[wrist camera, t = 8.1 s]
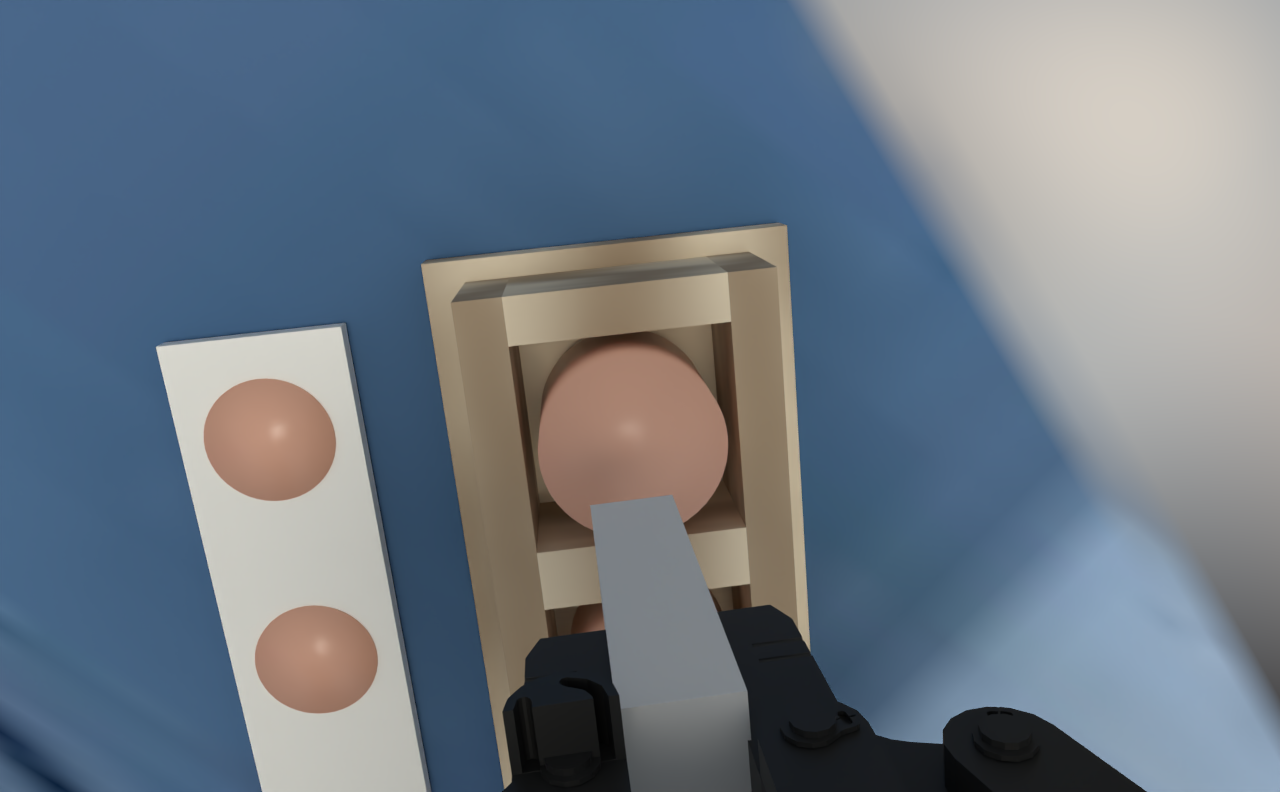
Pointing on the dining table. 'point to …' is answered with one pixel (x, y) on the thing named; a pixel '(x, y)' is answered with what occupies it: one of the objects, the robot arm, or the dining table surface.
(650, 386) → the button
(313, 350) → the pattern card
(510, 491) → the button panel
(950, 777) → the robot arm
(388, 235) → the dining table surface
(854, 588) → the dining table surface
